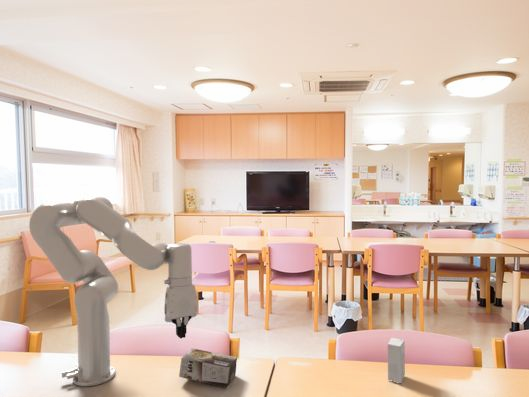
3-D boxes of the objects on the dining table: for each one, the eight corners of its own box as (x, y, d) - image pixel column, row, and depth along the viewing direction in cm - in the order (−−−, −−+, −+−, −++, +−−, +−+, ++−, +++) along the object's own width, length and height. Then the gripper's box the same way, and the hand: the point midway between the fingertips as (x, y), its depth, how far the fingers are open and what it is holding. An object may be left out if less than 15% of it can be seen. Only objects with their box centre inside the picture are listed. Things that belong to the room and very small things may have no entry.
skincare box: (391, 373, 123) (391, 337, 123) (405, 376, 121) (404, 339, 120) (387, 381, 118) (387, 343, 117) (401, 384, 115) (401, 346, 115)
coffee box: (178, 377, 116) (227, 388, 113) (181, 357, 116) (229, 367, 113) (190, 366, 125) (235, 376, 122) (192, 347, 125) (238, 356, 122)
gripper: (161, 287, 115) (162, 346, 115) (206, 280, 123) (207, 335, 123) (154, 282, 121) (155, 338, 121) (196, 276, 129) (197, 328, 129)
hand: (181, 336), depth 122 cm, fingers closed
